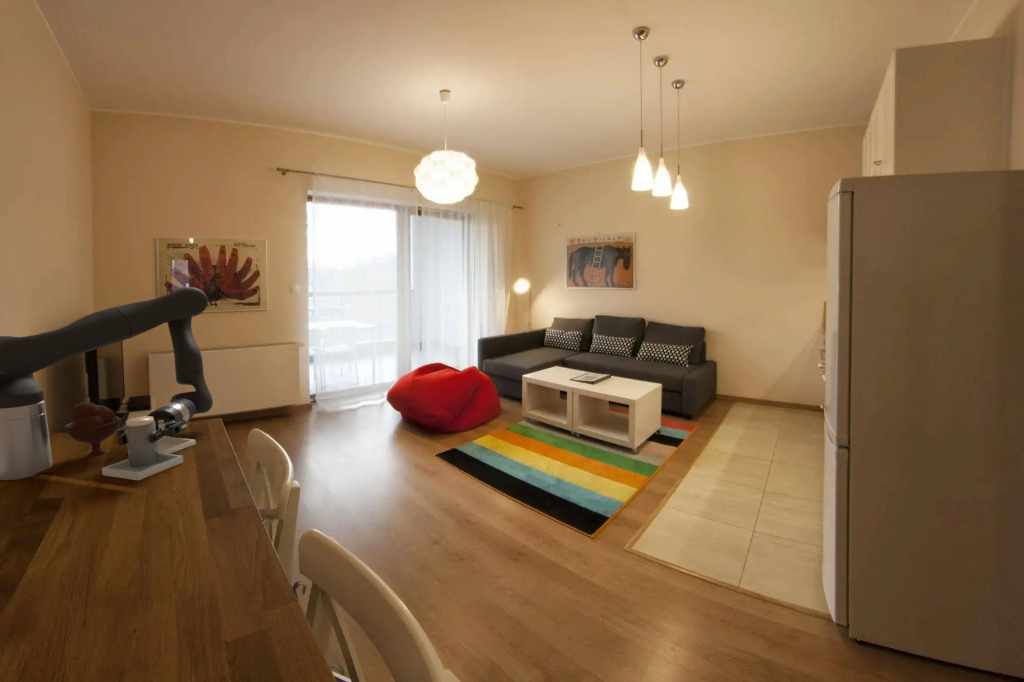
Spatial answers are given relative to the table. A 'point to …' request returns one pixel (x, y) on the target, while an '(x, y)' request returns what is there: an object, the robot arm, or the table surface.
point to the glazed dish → (139, 473)
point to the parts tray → (173, 444)
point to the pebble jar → (141, 441)
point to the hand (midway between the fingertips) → (136, 440)
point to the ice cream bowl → (92, 425)
